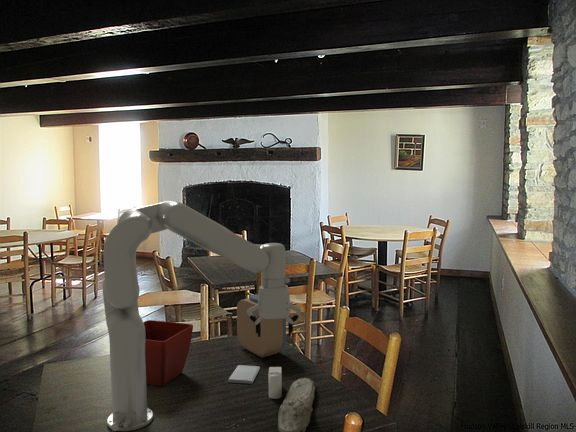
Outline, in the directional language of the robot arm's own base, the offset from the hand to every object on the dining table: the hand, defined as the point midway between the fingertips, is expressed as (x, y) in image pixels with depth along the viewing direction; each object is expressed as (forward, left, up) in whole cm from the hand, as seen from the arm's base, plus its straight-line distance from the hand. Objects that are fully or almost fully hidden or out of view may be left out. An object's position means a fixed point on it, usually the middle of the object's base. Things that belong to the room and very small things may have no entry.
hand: (274, 335), depth 162 cm
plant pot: (+12, +41, -19) cm, 47 cm away
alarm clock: (+36, +6, -19) cm, 41 cm away
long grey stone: (-12, -7, -19) cm, 24 cm away
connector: (0, 0, -19) cm, 19 cm away
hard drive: (+13, +11, -19) cm, 26 cm away
